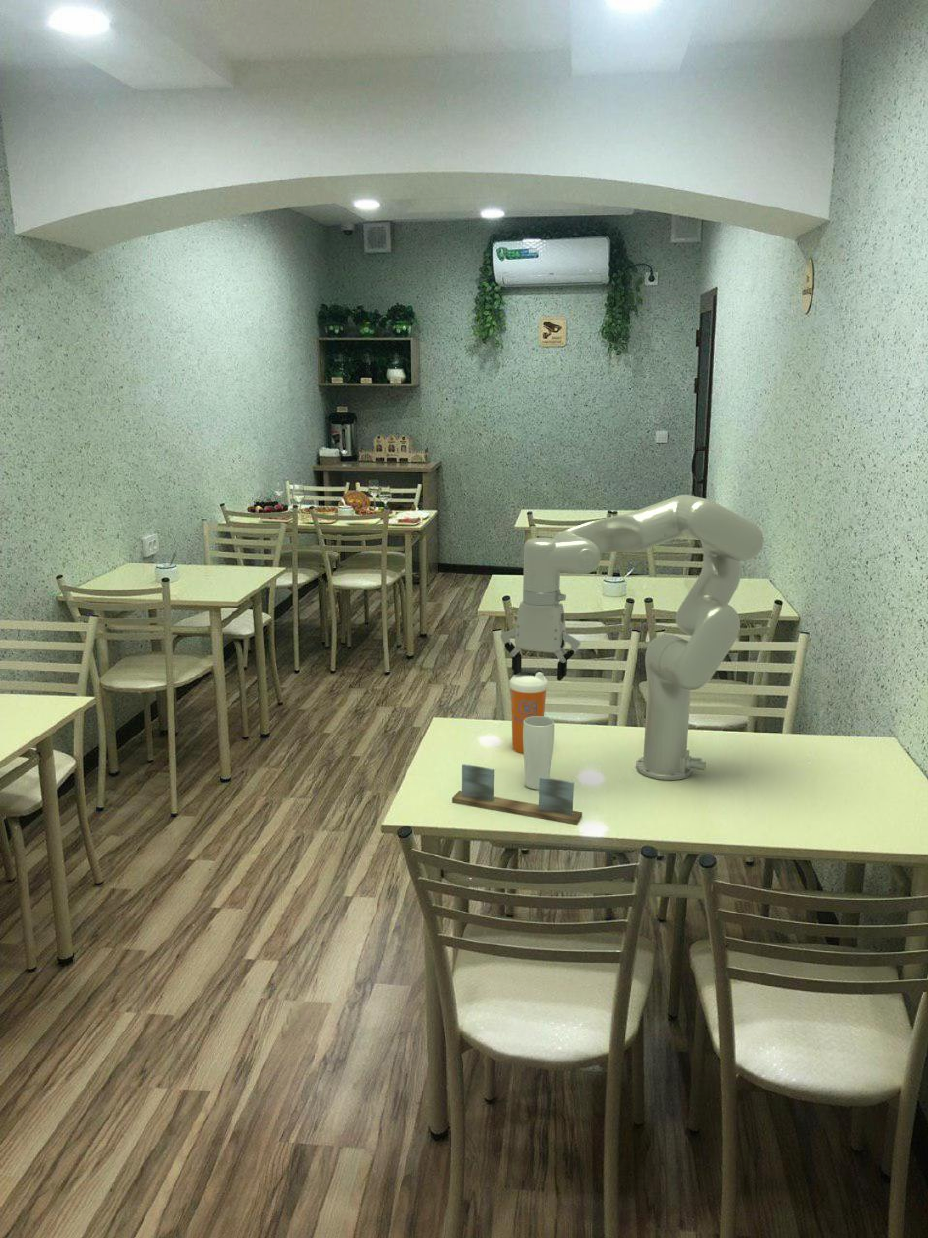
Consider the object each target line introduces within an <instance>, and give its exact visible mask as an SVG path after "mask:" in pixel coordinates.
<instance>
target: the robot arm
mask: <svg viewBox="0 0 928 1238" xmlns="http://www.w3.org/2000/svg"><path fill="white" fill-rule="evenodd" d="M685 536H687V537H691V538H694V539H696V540H699V541H700V544H701V546H702V551H703V566H702V569H701V572H700V573H699V574H698V575H699V576H698V577H697V579H696V580H695V582H694V584H693V586H692V587H691V589H690V590H689V592H688V593H687V594H686V597H684V599H683V601H682V603H681V604H680V606H679V607H678V610H677V612H676V613H675V622H676V626H677V627H678V628H679V630H680V631H682V632H683V633H685V634H686V635H688V636H690V638H689V640H686V639H684V638H682V637H681V636H680V637H679V636H677V635H676V634H675V635H674V634H667V633H666V634H660V635H658V636H656V637H654V638H653V639H652V640H651V641H650V642H649V643H648V646H647V648H646V651H645V655H644V656H645V660H644V662H645V671H646V672H645V673H646V679H647V680H646V682H647V684H646V687H647V689H646V690H647V691H646V693H647V694H646V706H645V709H646V710H645V724H644V726H645V727H644V729H645V730H644V741H643V742H644V743H643V756H642V757H639V758H638V760H636V764H635V765H636V766H635V767H636V771H638V772H639V773H641V774H642V775H644V776H645V777H649V778H652V779H657V780H664V781H677V780H682V779H686V778H688V777H689V776H691V775H692V774H693V769H695V770H698V771H705V770H706V765H707V764H706V763H707V762H706V761H703V760H702V759H703V758H701V757H700V758H699V757H692V755H690V749H688V737H689V736H688V735H689V734H688V733H689V721H690V720H689V719H690V707H691V691H694V690H698V689H701V688H702V687H704V686H705V685H707V683H709V681H710V680H711V679H713V676H714V675H715V674H716V672H717V670H718V669H719V667H720V666H721V664H722V663H723V661H724V660H725V658H726V656H727V655H728V653H729V651H731V648H732V647H733V646H734V644H735V642H736V640H737V638H738V635H739V634H740V633H739V632H740V628H741V621H740V616H739V614H738V612H737V610H736V609H735V608H734V607H733V606H732V605H730V604H729V603H730V601H731V600H732V598H733V596H734V594H735V593H736V590H737V589H738V588H739V587H738V586H739V584H740V581H741V574H742V571H741V570H742V567H741V562H746V561H750V560H752V559H755V557H757V556H758V555H759V553H760V552H761V550H762V548H763V546H764V536H763V532H762V530H761V529H760V527H759V526H758V525H757V524H755V523H754V522H753V521H751V520H749V519H747V518H745V517H744V516H741V515H740V514H739V513H736V512H733V511H732V510H730V509H728V508H727V507H724V506H722V505H721V504H719V503H717V502H715V501H713V500H710V498H709V499H708V498H706V497H705V498H704V497H699V496H694V495H690V494H680V495H677V496H673V497H669V498H668V499H664V500H662V501H660V502H655V504H651V505H648V506H645V507H642V508H640V509H637V510H634V511H631V512H628V513H623V514H619V515H614V516H611V517H610V516H609V517H606V518H601V519H598V520H597V519H596V520H592V521H588V522H584V523H582V524H579V525H576V526H573V527H570V528H568V529H566V530H563V531H561V532H559V533H557V534H556V535H554V536H553V537H552V538H550V537H549V538H548V537H534V538H529V539H527V540H526V541H525V543H524V545H523V546H524V549H523V584H522V585H523V586H522V587H523V589H522V590H523V591H522V601H520V603H519V607H518V610H517V611H518V612H517V616H516V621H515V622H516V623H515V628H513V629H510V630H508V631H505V632H503V633H501V634H500V638H501V641H502V643H503V645H504V648H505V649H506V651H507V652H508V653H509V655H510V657H511V670H512V671H513V670H514V671H513V676H514V675H517V674H519V673H520V672H521V668H522V659H523V655H522V653H521V651H523V650H525V651H532V652H541V653H548V654H554V655H555V656H556V657H557V658H558V662H557V667H556V668H557V669H556V680H557V681H562V680H563V679H564V678H565V677H566V676H567V669H568V660H569V659H570V658H572V657H573V656H574V655H575V654H576V652H577V651H578V649H579V647H580V645H581V642H580V640H578V639H576V638H575V637H573V636H572V635H570V634H569V633H567V632H566V618H565V609H564V605H563V604H562V603H560V602H562V601H566V598H567V595H566V594H565V593H562V592H561V590H560V584H561V583H560V582H561V581H560V579H561V578H560V577H561V574H567V575H568V574H569V575H576V576H577V575H579V576H580V575H587V574H590V573H592V572H594V571H595V570H596V569H597V568H598V567H599V565H600V563H601V558H602V555H601V554H604V553H605V554H606V553H613V552H614V553H615V552H618V553H620V552H621V553H635V552H637V553H638V552H643V551H647V550H649V549H651V548H654V547H658V546H659V545H662V544H664V543H667V542H670V541H673V540H675V539H678V538H681V537H685ZM513 636H514V644H515V645H514V644H513V642H511V639H510V638H511V637H513ZM566 643H567V644H569V645H570V649H569V650H566V649H565V648H564V647H565V646H566Z"/></svg>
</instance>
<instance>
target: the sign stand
mask: <svg viewBox="0 0 928 1238" xmlns="http://www.w3.org/2000/svg"><path fill="white" fill-rule="evenodd" d="M574 785H575V782H574V781H569V780H563V779H557V778H551V777H550V778H545V777H540V783H539V790H538V804H537V803H531V802H526V801H519V800H515V799H509V798H503V797H498V796H495V769H494V768H492V767H491V768H489V767H484V766H478V765H472V764H466V763H462V765H461V790H458V791H457V792H456V793H455V794H454V795H453V796H452V797H451V803H455V804H460V805H465V806H470V807H477V808H481V809H482V808H483V809H487V810H494V811H497V812H505V813H508V814H509V813H510V814H514V815H521V816H527V817H531V818H535V819H536V818H538V819H542V820H547V821H553V822H558V823H559V822H560V823H565V824H569V825H576V826H578V823H579V822H580V821H581V819H582V817H583V812H582V811H576V810H574V789H575V787H574Z"/></svg>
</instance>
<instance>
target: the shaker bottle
mask: <svg viewBox="0 0 928 1238" xmlns="http://www.w3.org/2000/svg"><path fill="white" fill-rule="evenodd" d="M512 671H513V672H514V670H512ZM509 680H510V681H509V689H510V698H511V699H510V703H511V705H510V708H511V744H512V745H511V747H512V750H513V751H514V752H516V753H519V754H522V755H524V749H523V723H524V719H526V718H528V717H532V716H543V717H545V712H546V711H545V709H546V697H547V690H548V679H547V678H546V677H545V676H544V670H543V668H541V667H536V668H535V669H534V668H528V667H521V672H520V673H519V674H517V675H514V674H513V676H512V677H511V678H510V679H509Z"/></svg>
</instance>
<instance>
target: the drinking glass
mask: <svg viewBox="0 0 928 1238" xmlns="http://www.w3.org/2000/svg"><path fill="white" fill-rule="evenodd" d="M554 741H555V721H554V719H553V718H550V717H547V716H544V717H543V716H532V717H528V718H526V719H524V723H523V749H524V754H523V761H524V785H525V787H527V788H529V789H531V790H538V791H539V783H540V777H545V778H551V777H550V776H551V767H552V766H551V765H552V761H553V760H552V758H553V752H554V751H553V750H554V743H555V742H554Z"/></svg>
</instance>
